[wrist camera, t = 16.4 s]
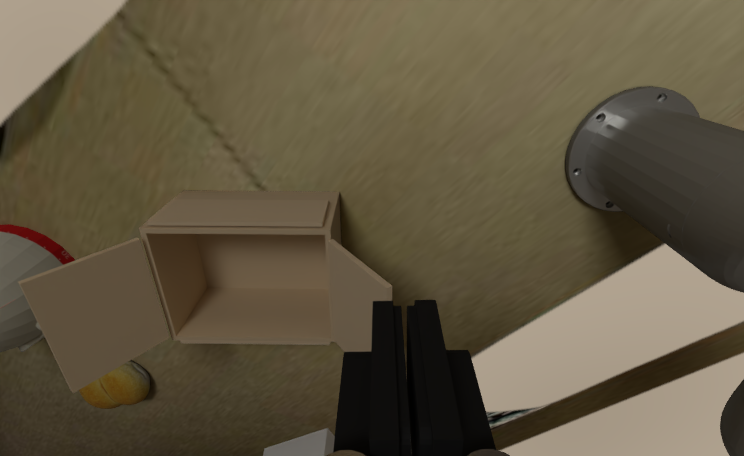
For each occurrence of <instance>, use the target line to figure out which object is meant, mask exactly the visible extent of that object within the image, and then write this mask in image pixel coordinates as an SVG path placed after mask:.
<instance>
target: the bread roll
mask: <svg viewBox="0 0 744 456" xmlns="http://www.w3.org/2000/svg"><path fill="white" fill-rule="evenodd" d="M149 389H150V377H149V375H148V373H147V372H146V371H145V370H144V369H143V368H142V367H141V366H140V365H138V364H136V363H134V362H132V361H128V362H127V363H125V364H123V365H121V366H120V367H118V368H116V369H114V370H113V371H111V372H109V373H107V374H106V375H104V376H102V377H101V378H99V379H97V380H95V381H94V382H92V383H90V384H88V385H87V386H85V387H83V388H81V389H80V390H79V391H80V393H81V395H82V397H83V398H84V399H85V401H86V402H88V403H89V404H90V405H92V406H95V407H98V408H102V409H111V408H116V407H118V406H120V405H122V404H126V405H132V404H136V403H139V402H141V401H142V400H143V399H145V397H146V396H147V394H148V392H149Z"/></svg>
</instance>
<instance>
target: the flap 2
mask: <svg viewBox="0 0 744 456" xmlns="http://www.w3.org/2000/svg"><path fill="white" fill-rule="evenodd" d="M328 246H329V264H330V282H331V299H332V317H333V334H334V341H335V342H336V343H337V344H338V345H339V346H340V348H341V349H342V350H343V351H344V352H367V351H371V348H372V309H373V301H392V285H391V284H389V283H388V282H387V281H385V280H384V279H383V278H382V277H380V276H379V275H378V274H377V273H375V272H374V271H373V270H371V269H370V268H369V267H368V266H366V265H365V264H364V263H363V262H361V261H360V260H359V259H358V258H356V257H355V256H354V255H352V254H351V253H350V252H349V251H347V250H346V249H345V248H344V247H342V246H341V245H340V244H338V243H337V242H336V241H335V240H333V239H332V240H329V241H328Z"/></svg>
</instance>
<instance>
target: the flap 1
mask: <svg viewBox="0 0 744 456" xmlns="http://www.w3.org/2000/svg"><path fill="white" fill-rule="evenodd" d="M18 283H19V285H20V287H21V289H22V291H23V293H24V295H25V297H26V299H27V302H28V304H29V306H30V308H31V310H32V312H33V314H34V316H35V318H36V320H37V322H38V324H39V326H40V328H41V330H42V332H43V334H44V336H45V338H46V340H47V343H48V345H49V347H50V349H51V351H52V353H53V355H54V357H55V359H56V361H57V363H58V365H59V367H60V369H61V371H62V373H63V375H64V377H65V379H66V382H67V384H68V386H69V388H70V390H71V391H72V393H74V392H76V391H78V390H80V389H81V388H83V387H85V386H87V385H88V384H90V383H92V382H94V381H95V380H97V379H99V378H101V377H102V376H104V375H106V374H107V373H109V372H111V371H113V370H114V369H116V368H118V367H120V366H121V365H123V364H125V363H127V362H128V361H130V360H132V359H134V358H135V357H137V356H139V355H141V354H142V353H144V352H146V351H148V350H149V349H151V348H153V347H155V346H156V345H158V344H160V343H161V342H163V341H165V340H167V339H168V338H169V335H168V331H167V328H166V325H165V321H164V318H163V315H162V311H161V308H160V305H159V301H158V298H157V295H156V292H155V288H154V285H153V282H152V278H151V275H150V272H149V268H148V265H147V262H146V258H145V255H144V252H143V248H142V245H141V242H140V239H138V238H135V239H132V240H129V241H127V242H124V243H121V244H118V245H116V246H113V247H110V248H108V249H105V250H102V251H100V252H97V253H94V254H91V255H89V256H86V257H83V258H81V259H78V260H75V261H72V262H70V263H67V264H64V265H62V266H59V267H56V268H54V269H51V270H48V271H45V272H43V273H40V274H37V275H35V276H32V277H29V278H26V279H24V280H21V281H18Z"/></svg>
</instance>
